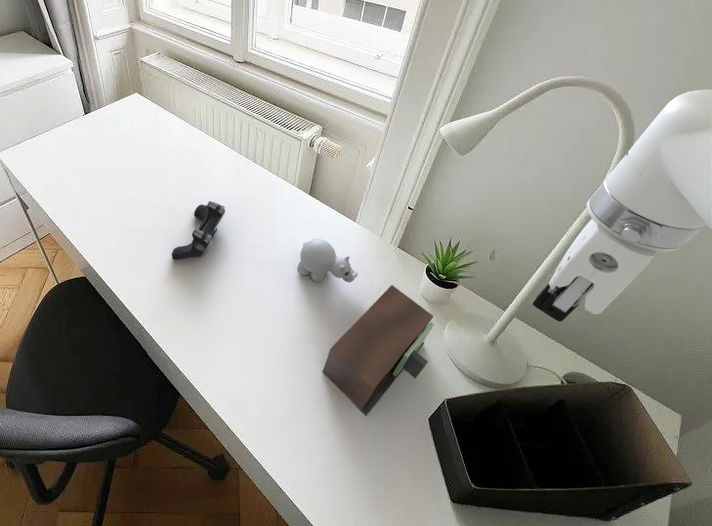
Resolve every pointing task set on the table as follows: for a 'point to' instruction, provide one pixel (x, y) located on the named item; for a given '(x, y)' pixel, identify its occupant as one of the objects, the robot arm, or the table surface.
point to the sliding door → (414, 356)
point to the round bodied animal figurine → (324, 261)
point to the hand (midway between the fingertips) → (548, 309)
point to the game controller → (201, 231)
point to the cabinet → (375, 348)
